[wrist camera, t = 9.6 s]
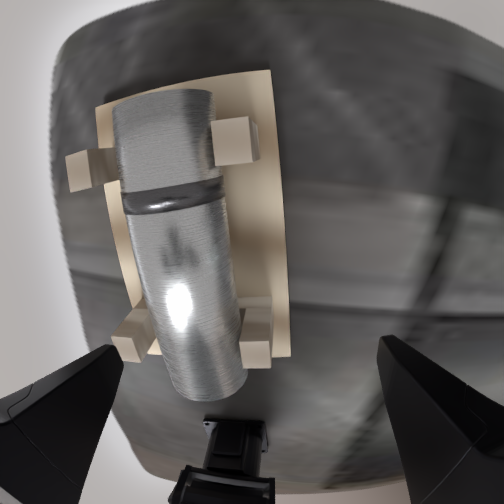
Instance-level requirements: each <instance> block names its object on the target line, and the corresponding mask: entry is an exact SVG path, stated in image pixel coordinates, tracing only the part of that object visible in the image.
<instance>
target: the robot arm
mask: <svg viewBox="0 0 504 504" xmlns="http://www.w3.org/2000/svg"><path fill="white" fill-rule="evenodd" d="M377 365H378V370H379V375H380V380H381V385H382V391H383V396H384V401H385V405H386V408H387V412H388V415H389V418H390V422H391V425H392V429H393V432H394V436H395V439H396V443H397V446H398V450H399V454H400V458H401V462H402V466H403V470H404V474H405V478H406V482H407V486H408V491H409V495H410V500H411V504H504V406H502V405H500V404H498V403H497V402H495V401H493V400H491V399H489V398H488V397H486V396H485V395H483V394H481V393H480V392H478V391H477V390H475V389H474V388H472V387H471V386H469V385H467V384H466V383H465V382H463V381H462V380H460V379H459V378H457V377H456V376H454V375H453V374H451V373H450V372H448V371H447V370H445V369H444V368H442V367H441V366H439V365H438V364H436V363H435V362H433V361H432V360H430V359H429V358H427V357H426V356H424V355H423V354H421V353H420V352H418V351H417V350H415V349H414V348H412V347H411V346H409V345H408V344H406V343H405V342H403V341H402V340H400V339H399V338H397V337H396V336H394V335H385V336H381V337H380V340H379V346H378V352H377ZM123 368H124V364H123V361H122V358H121V356H120V354H119V352H118V350H117V348H116V346H114V345H109V344H105V345H103V346H101V347H99V348H97V349H95V350H94V351H92V352H90V353H88V354H86V355H84V356H83V357H81V358H79V359H77V360H75V361H73V362H71V363H70V364H68V365H66V366H64V367H62V368H60V369H58V370H57V371H55V372H53V373H51V374H49V375H47V376H45V377H44V378H42V379H40V380H38V381H36V382H35V383H34V384H31V385H29V386H27V387H25V388H23V389H21V390H19V391H17V392H15V393H12V394H10V395H8V396H6V397H4V398H1V399H0V504H78V503H79V500H80V497H81V493H82V489H83V486H84V483H85V480H86V477H87V474H88V471H89V468H90V465H91V462H92V459H93V456H94V453H95V450H96V448H97V445H98V442H99V439H100V436H101V434H102V431H103V428H104V426H105V423H106V420H107V418H108V415H109V413H110V410H111V407H112V405H113V402H114V399H115V396H116V392H117V389H118V385H119V382H120V378H121V375H122V372H123ZM203 426H204V428H205V431H206V433H207V436H208V438H209V444H208V448H207V452H206V456H205V460H204V464H203V468H202V469H201V468H196V467H192V466H190V465H186V467H185V470H181V473H180V476H179V479H178V482H177V484H176V486H175V487H174V489H173V491H172V493H171V494H170V496H169V498H168V502H169V504H275V478H270V477H269V478H261V477H259V472H260V462H261V453H267V452H268V445H267V437H266V429H265V423H264V422H262V421H236V420H217V419H204V420H203Z"/></svg>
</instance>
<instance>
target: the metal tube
mask: <svg viewBox="0 0 504 504" xmlns="http://www.w3.org/2000/svg"><path fill="white" fill-rule="evenodd" d="M112 121H113V133H114V142H115V151H116V159H117V167H118V174H119V181H120V188H121V192H120V194H121V200H122V206H123V211H124V214H125V216H126V222H127V227H128V232H129V236H130V241H131V246H132V250H133V254H134V259H135V263H136V267H137V271H138V275H139V279H140V283H141V287H142V290H143V294H144V298H145V301H146V305H147V308H148V312H149V315H150V318H151V322H152V325H153V328H154V331H155V335H156V338H157V341H158V344H159V347H160V350H161V353H162V356H163V359H164V361H165V364H166V367H167V370H168V373H169V375H170V378H171V381H172V383H173V386H174V388H175V389H176V391H177V392H178V393H179V394H180V395H182V396H183V397H185V398H187V399H190V400H194V401H200V402H210V401H216V400H220V399H224V398H226V397H228V396H230V395H232V394H234V393H235V392H236V391H238V390H239V389H240V388H241V387H242V386H243V384H244V383H245V381H246V379H247V376H248V368H243V364H242V358H241V351H240V345H239V339H240V335H241V330H242V326H241V319H240V312H239V304H238V297H237V290H236V282H235V275H234V267H233V259H232V251H231V243H230V235H229V227H228V219H227V211H226V202H225V195H226V193H225V185H224V176H223V174H222V167H221V166H215V158H214V149H213V140H212V130H211V121H216V110H215V100H214V94H213V93H212V92H210V91H207V90H201V89H172V90H163V91H157V92H152V93H147V94H143V95H139V96H136V97H133V98H130V99H128V100H125V101H123V102H121V103H119V104H117V105H116V106H114V107H113V109H112Z"/></svg>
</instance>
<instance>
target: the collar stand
mask: <svg viewBox="0 0 504 504" xmlns="http://www.w3.org/2000/svg"><path fill="white" fill-rule="evenodd" d="M172 89H201V90H207V91H210V92H212V93H213V94H214V100H215V110H216V121H211V130H212V140H213V149H214V158H215V166H221V167H222V174H223V176H224V185H225V193H226V195H225V202H226V211H227V219H228V227H229V235H230V243H231V251H232V259H233V267H234V275H235V282H236V290H237V297H238V304H239V312H240V319H241V326H242V330H241V335H240V339H239V345H240V351H241V358H242V364H243V368H271V363H272V357H291V347H290V318H289V294H288V274H287V256H286V239H285V224H284V210H283V196H282V183H281V171H280V160H279V148H278V138H277V127H276V117H275V108H274V98H273V89H272V81H271V72H270V70H260V71H250V72H242V73H234V74H227V75H220V76H214V77H208V78H202V79H197V80H192V81H187V82H182V83H178V84H173V85H169V86H165V87H161V88H157V89H153V90H149V91H146V92H142V93H139V94H135V95H132V96H129V97H125V98H122V99H119V100H116V101H113V102H110V103H107V104H104V105H101V106H99V107H96V122H97V134H98V144H99V149H87V150H84V151H81V152H78V153H75V154H72V155H69V156H66V157H65V158H66V166H67V173H68V180H69V186H70V192H75V191H79V190H83V189H87V188H92V187H95V186H99V185H102V184H104V189H105V195H106V200H107V206H108V211H109V216H110V221H111V226H112V231H113V236H114V240H115V245H116V249H117V253H118V257H119V261H120V265H121V269H122V273H123V277H124V280H125V284H126V287H127V291H128V294H129V298H130V301H131V304H132V308H133V310H132V311H131V312H130V313H129V314H128V316H127V317H126V318H125V319H124V320H123V322H122V323H121V324H120V325H119V327H118V328H117V329H116V330H115V332H114V333H113V334H112V335H111V338H112V340H113V343H114V345H115V346H116V348H117V350H118V352H119V354H120V356H121V358H122V361H130V362H139V363H141V362H142V360H143V359H144V357H145V355H146V354H147V352H148V354H156V355H162V353H161V350H160V347H159V344H158V341H157V338H156V335H155V331H154V328H153V325H152V322H151V318H150V315H149V312H148V308H147V305H146V301H145V298H144V294H143V290H142V287H141V283H140V279H139V275H138V271H137V267H136V263H135V259H134V254H133V250H132V246H131V241H130V236H129V232H128V227H127V222H126V216H125V214H124V211H123V206H122V200H121V194H120V192H121V188H120V181H119V174H118V167H117V159H116V151H115V142H114V133H113V121H112V109H113V107H114V106H116V105H117V104H119V103H121V102H123V101H125V100H128V99H130V98H133V97H136V96H139V95H143V94H147V93H152V92H157V91H163V90H172Z"/></svg>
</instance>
